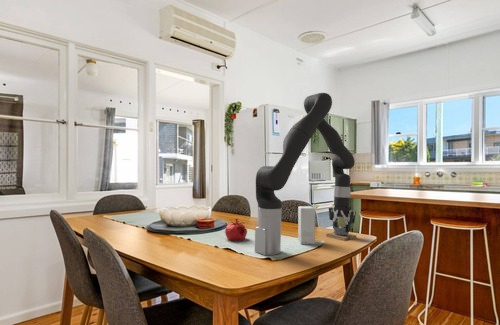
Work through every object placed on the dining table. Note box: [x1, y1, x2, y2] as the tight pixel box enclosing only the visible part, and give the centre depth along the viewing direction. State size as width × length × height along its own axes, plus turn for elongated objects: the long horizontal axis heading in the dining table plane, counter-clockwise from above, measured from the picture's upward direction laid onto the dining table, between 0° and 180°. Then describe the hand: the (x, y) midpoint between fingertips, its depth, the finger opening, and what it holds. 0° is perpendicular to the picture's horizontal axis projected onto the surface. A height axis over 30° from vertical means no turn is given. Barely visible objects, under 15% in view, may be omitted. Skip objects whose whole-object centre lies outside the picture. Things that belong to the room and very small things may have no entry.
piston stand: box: [325, 225, 357, 242], centre depth 148 cm, size 10×10×5 cm
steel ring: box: [333, 225, 350, 235], centre depth 148 cm, size 6×6×3 cm
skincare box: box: [297, 205, 316, 245], centre depth 136 cm, size 8×7×16 cm
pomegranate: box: [224, 217, 248, 242], centre depth 138 cm, size 10×10×9 cm
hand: (341, 230), depth 148 cm, fingers closed on steel ring, 6 cm apart
